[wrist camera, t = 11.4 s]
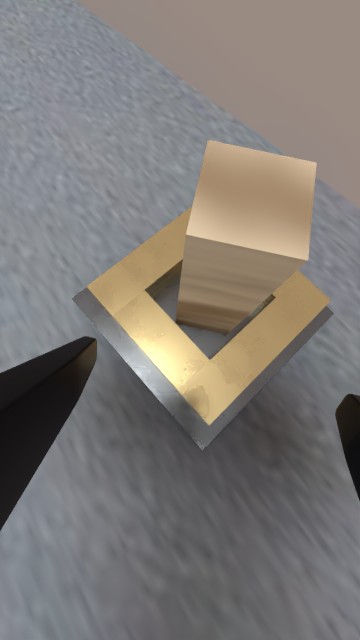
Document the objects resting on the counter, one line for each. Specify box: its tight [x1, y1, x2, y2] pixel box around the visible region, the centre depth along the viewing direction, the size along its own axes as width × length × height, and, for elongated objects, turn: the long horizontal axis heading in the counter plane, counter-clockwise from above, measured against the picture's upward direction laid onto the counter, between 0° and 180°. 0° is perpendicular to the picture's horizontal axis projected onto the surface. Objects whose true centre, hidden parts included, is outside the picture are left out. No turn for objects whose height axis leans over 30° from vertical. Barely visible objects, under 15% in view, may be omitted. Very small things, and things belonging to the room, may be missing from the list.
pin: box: [175, 140, 316, 335], centre depth 16 cm, size 4×4×13 cm
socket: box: [72, 207, 334, 450], centre depth 21 cm, size 16×16×4 cm
